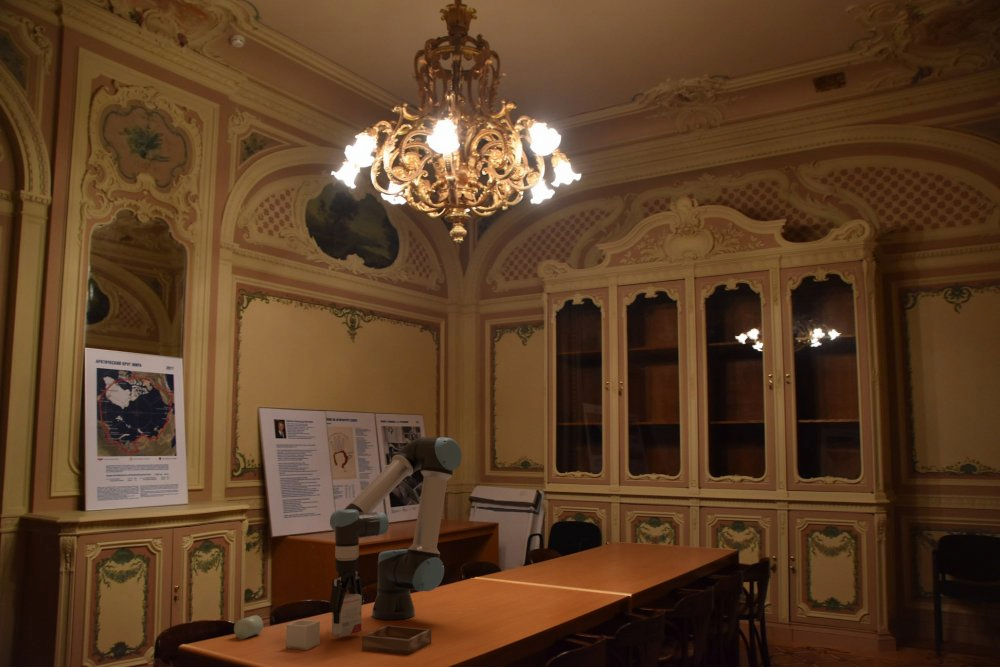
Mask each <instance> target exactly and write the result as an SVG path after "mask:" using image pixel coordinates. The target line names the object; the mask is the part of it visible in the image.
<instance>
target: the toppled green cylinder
mask: <svg viewBox="0 0 1000 667" xmlns="http://www.w3.org/2000/svg"><path fill="white" fill-rule="evenodd" d="M263 628H264V621H263V619H262V617H261V616H259V615H258V614H256V615H251V616H248V617H244V618H242V619H238V620H237V621H236V622H235V624H234V626H233V632H234V635H235V637H236V638H237V639H239V640H245V639H247V638H250V637H253V636H256V635H258V634H260V633H261V632H262V631H263V630H264V629H263Z"/></svg>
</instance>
